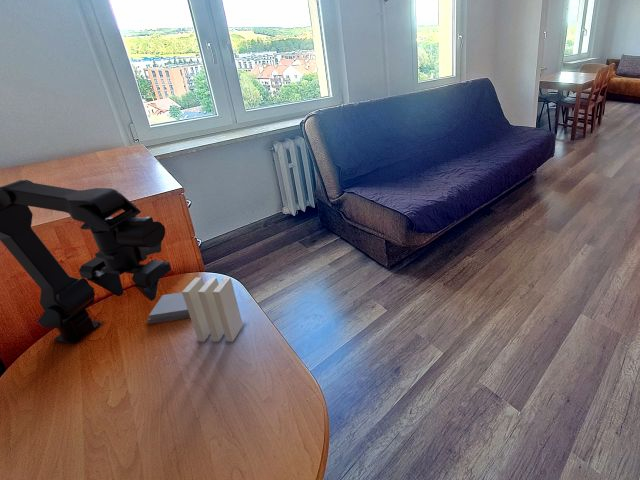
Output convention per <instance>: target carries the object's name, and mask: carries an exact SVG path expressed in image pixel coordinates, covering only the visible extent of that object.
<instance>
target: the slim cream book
mask: <svg viewBox="0 0 640 480" xmlns="http://www.w3.org/2000/svg"><path fill="white" fill-rule="evenodd" d="M204 284H205V283H204V279H203V277H201V276H200V277H199V276H196V277H194V278H193V280H191V281H190V283H188V284H187V286H186V287H185V288H184V289H183V290H182V291H181V292H182V294H183V297H184V300H185V303H186V306H187V309H188V312H189V315H190V321H191V324H192V327H193V330H194V333H195V336H196V339H197V342H205V341H206V340H207V339H208V337H209V336H210V335H211V333H210V330H209V327H208V324H207V320H206V317H205V314H204V311H203V307H202V304H201V301H200V298H199V294H198V291H199V290H200V289H201V288H202V287H203V285H204Z"/></svg>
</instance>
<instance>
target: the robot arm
mask: <svg viewBox="0 0 640 480" xmlns="http://www.w3.org/2000/svg"><path fill="white" fill-rule="evenodd" d="M30 207H32V208H38V209H45V210H50V211H55V212H63V213H66V214H69V216H70V217H71V219H72V220H75V221H78V222H81V223H83V224H82V225H81V226H80V229H81V230H86V231H87V230H88V231H89V230H90V232H91V234H92V237H93V239H94V242H95V243H96V244H95V245H96V246H97V249H98V251H97V252H95V253H94V257H93V258H91V259H90V260H88V261H87V262H84V263H83V264H81V266H80V267H79V270H78V273H79V275H80V278H77V277H73V276H71V275H69V274H68V273H67V271H66V270H65V269H64V267H63V266H62V265H61V264H60V262H59V261H58V260H57V258H56V257H55V256H54V255H53V254H52V253H51V251H50V249H48V247H47V245H46V244H44V242H43V241H42V239H40V237H39V236H38V234H37V233H36V232H35V231H34V229H33V228H32V222H33V217H34V215H33V212H32V210H31V209H30ZM121 211H123V212H121ZM119 212H121V213H119ZM117 213H119V214H117ZM141 213H142V211H141V210H140V209H139V208H138V207H137V205H136V204H134V203H133V202H132V201H131V200H129V199H128V198H127V197H126V196H124V195H123V194H122V193H121V192H119V191H118V190H116V189H115V188H109V187H95V188H88V189H80V190H79V189H72V188H66V187H61V186H55V185H48V184H44V183H43V184H42V183H37V182H33V181H31V180H28V179H20V180H17V181H12V182H11V183H8V184H4V185H2V186H0V242H1V243H2V244H3V246H4V247H5V248H6V249H7V250H8V252H9V253H10V254H11V255H12V256H13V258H15V260H16V261H17V262H18V263H19V265H21V267H22V268H23V269H24V271H25V272H26V273H27V274H28V275H29V277H30V278H31V279H32V280H33V281H34V282H35V284H36V285H37V286H38V287H39V288H40V297H39V304H40V306H41V308H42V309H43V313H42V314H41V315H40V316H39V318H38V319H37V323H38V324H39V325H40V326H41V327H42V328H48V329H57V330H58V332H59V335H57V336H55V337H54V338H53V341H55V342H58V343H62V344H63V343H65V344H70V345H76V344H78V343H79V342H81V340H83V339H84V338H85V337H87V336H88V335H89V334H91V333H92V332H93V331H95V330H96V329H97V328H98V327H100V326H102V322H101V321H95V320H92V318H91V316H90V314H89V312H88V310H87V308H88V307H90V306H91V305H92V304H94V303H95V295H96V292H95V288H94V287H93V286H92V285H91V284H90V282H91V283H93V284H95V285H97V286H99V287H101V288H103V289H105V290H106V291H107V292H109V293H111V294H113V295H115V296H117V297H121V296H122V295H124V288H123V284H122V281H121V277H120V276H121V275H123V274H133V275H132V277H131V280H132V282H133V283H134V286H133V287H134V288H136V290H138V291H139V292H140V293H141V294H142V295H143V296H144V297H145V298H146V299H148V300H149V301H150V302H153V301H154V300H155V299H156V298H157V292H158V286H159V282H160V279H162V278H163V277H164V276H166V275H167V274H168V273H169V272H171V271H172V267H171V264H170V262H169V261H164V260H154V259H152V260H150V261H149V262H147V263H146V264H143V263H141V262H144V261H146V260H147V259H148V256H151V255H153V254H159V253H162V242H163V240H164V238H165V236H166V227H165V225H164V224H163V223H162V222H160V221H158V220H157V221H156V220H153V217H152V216H138V215H140V214H141ZM116 214H117V215H116ZM114 215H115V216H114ZM112 216H114V217H112Z"/></svg>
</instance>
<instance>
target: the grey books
mask: <svg viewBox="0 0 640 480" xmlns="http://www.w3.org/2000/svg"><path fill="white" fill-rule="evenodd" d="M189 318H190V315H189V312H188V309H187V306H186V303H185V300H184V297H183V294H182V291H181V292H174V293H168V294H162V295H161V296H160V298H159V300H158V301H157V302H156V304H155V306H154V307H153V309H152V310H151V311H150V313H149V314H148V319H147V323H148V325H150V324H159V323H163V322H171V321H176V320H177V321H178V320H182V319H189ZM190 319H191V318H190Z"/></svg>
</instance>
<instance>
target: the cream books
mask: <svg viewBox="0 0 640 480" xmlns="http://www.w3.org/2000/svg"><path fill="white" fill-rule="evenodd" d="M198 294H199V298H200V301H201V304H202V307H203V311H204V314H205V317H206V320H207V324H208V327H209V330H210V337H211V340H212V342H220V341H221V339H222V338H223V336H224V338H225V340H226V342H234V340H235V339H236V337H238V334H239V332H240V331H241V329H242V328H243V327H244V326H243V325H244V324H243V320H242V316H241V312H240V308H239V304H238V301H237V297H236V293H235V289H234V285H233V282H232V278H231V277H223V279H222V280H221V281H220V282H219V281H218V278H217V277H213V276H212V277H211V276H210V277H209V278H208V280H207V281H206V282H205V283H204V285H203V287H202V288H201V289H200V290H199V291H198Z"/></svg>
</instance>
